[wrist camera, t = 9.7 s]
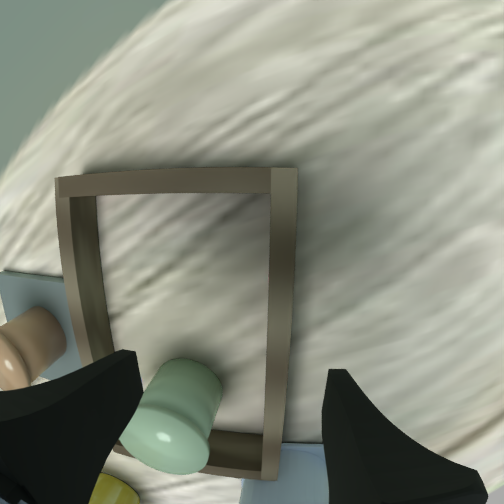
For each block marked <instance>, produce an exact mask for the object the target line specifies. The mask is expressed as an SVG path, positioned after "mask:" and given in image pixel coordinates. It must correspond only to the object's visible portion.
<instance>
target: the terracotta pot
mask: <svg viewBox="0 0 504 504" xmlns="http://www.w3.org/2000/svg"><path fill="white" fill-rule="evenodd" d="M66 347H67V343H66V337H65V334H64V331H63V329H62V327H61V325H60V323H59V322H58V320H57V319H56V318H55V317H54V316H53V315H52V314H51V313H50V312H49V311H48V310H46V309H45V308H43V307H40V306H34V307H32V308H30V309H28V310H27V311H25V312H23V313H22V314H20V315H18V316H17V317H15V318H13V319H12V320H10V321H9V322H7V323H5V324H4V325H2V326H0V388H1V389H2V390H3V391H7V390H15V389H20V388H25V387H29V386H31V383H32V382H33V381H34V380H35V379H36V378H38V377H39V376H40V375H41V374H42V373H43V372H44V371H45V370H47V369H48V368H49V367H50V366H51V365H52V364H53V363H55V362H56V361H57V360H58V359H59V358H60V357H61V356H63V355H64V353H65V351H66Z"/></svg>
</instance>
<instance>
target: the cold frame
mask: <svg viewBox="0 0 504 504" xmlns="http://www.w3.org/2000/svg"><path fill="white" fill-rule="evenodd" d="M297 187H298V168H280V167H199V168H169V169H149V170H132V171H118V172H105V173H94V174H83V175H73V176H64V177H58V178H55V199H56V216H57V228H58V239H59V248H60V256H61V264H62V271H63V278H64V284H65V290H66V296H67V302H68V307H69V312H70V317H71V322H72V327H73V331H74V335H75V340H76V344H77V348H78V352H79V356H80V360H81V364H82V367H85V366H87V365H89V364H91V363H93V362H95V361H97V360H99V359H101V358H103V357H105V356H108V355H110V354H112V353H114V347H113V342H112V337H111V331H110V326H109V320H108V314H107V307H106V301H105V294H104V287H103V279H102V271H101V262H100V252H99V241H98V229H97V214H96V196H100V195H123V194H155V193H266V194H271V210H270V258H269V296H268V328H267V357H266V383H265V407H264V429H263V435H257V434H246V433H236V432H227V431H219V430H211V431H210V434H209V437H208V442H209V445H210V454H209V458H208V461H207V463H206V465H205V467H204V468H203V469H201V470H200V471H198V472H199V473H205V474H212V475H218V476H226V477H234V478H242V479H252V480H264V481H277V479H278V470H279V461H280V452H281V443H282V433H283V423H284V413H285V402H286V391H287V379H288V366H289V353H290V339H291V324H292V308H293V291H294V271H295V249H296V222H297ZM113 451H114V452H116V453H119V454H122V455H126V456H129V457H133V458H135V457H134V456H133V455H131V454H130V453H129V452H128V451H127V450H126V448H125V447H124V446H123V445H122V443H121V442H120V440H119V439H118V441H117V442H116V444H115V446H114V447H113Z"/></svg>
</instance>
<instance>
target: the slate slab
mask: <svg viewBox="0 0 504 504" xmlns="http://www.w3.org/2000/svg"><path fill="white" fill-rule="evenodd" d="M0 294H1V298H2V303H3V307H4V311H5V315H6V319H7V322H9V321H10V320H12V319H13V318H15V317H17V316H18V315H20V314H22V313H23V312H25V311H27V310H28V309H30V308H32V307H34V306H40V307H43V308H45V309H46V310H48V311H49V312H50V313H51V314H52V315H53V316H54V317H55V318H56V319H57V320H58V322H59V323H60V325H61V327H62V329H63V331H64V334H65V337H66V343H67V347H66V351H65V353H64V355H63V356H61V357H60V358H59V359H58V360H57V361H56V362H55V363H53V364H52V365H51V366H50V367H49V368H48V369H47V370H45V371H44V372H43V373H42V374H41V375H40V377H43V378H46V379H49V380H54V379H57V378H59V377H62V376H64V375H66V374H69V373H71V372H74V371H76V370H78V369H80V368H83V367H82V364H81V360H80V356H79V352H78V348H77V344H76V340H75V335H74V331H73V327H72V322H71V317H70V312H69V307H68V302H67V296H66V290H65V284H64V278H58V277H49V276H41V275H33V274H25V273H17V272H9V271H2V272H0Z"/></svg>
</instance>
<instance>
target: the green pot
mask: <svg viewBox="0 0 504 504" xmlns="http://www.w3.org/2000/svg"><path fill="white" fill-rule="evenodd" d="M222 393H223V391H222V386H221V383H220V381H219V379H218V378H217V376H216V375H215V374H214V373H213V372H212V371H211V370H210V369H209V368H208V367H206V366H204V365H203V364H201V363H199V362H196V361H193V360H189V359H173V360H170V361H167V362H166V363H164V364H163V365H162V366H161V367H160V369H159V370H158V372H157V373H156V375H155V376H154V378H153V379H152V381H151V382H150V384H149V385H148V387H147V388H146V390H145V391H144V393H143V396H142V398H141V400H140V403H139V405H138V407H137V410H136V412H135V414H134V415H133V417H132V419H131V420H130V422H129V423H128V425H127V427H126V428H125V430H124V431H123V433H122V435H121V436H120V438H119V440H120V442H121V443H122V445H123V446H124V447H125V448H126V450H127V451H128V452H129V453H130V454H131V455H133V456H134V457H135V458H136V459H138V460H139V461H141V462H142V463H144V464H146V465H147V466H149V467H151V468H154V469H156V470H159V471H162V472H166V473H170V474H177V475H186V474H192V473H195V472H198V471H200V470H201V469H203V468H204V467H205V465H206V463H207V461H208V458H209V454H210V445H209V442H208V437H209V434H210V431H211V428H212V425H213V422H214V419H215V416H216V413H217V410H218V407H219V404H220V401H221V398H222Z"/></svg>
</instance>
